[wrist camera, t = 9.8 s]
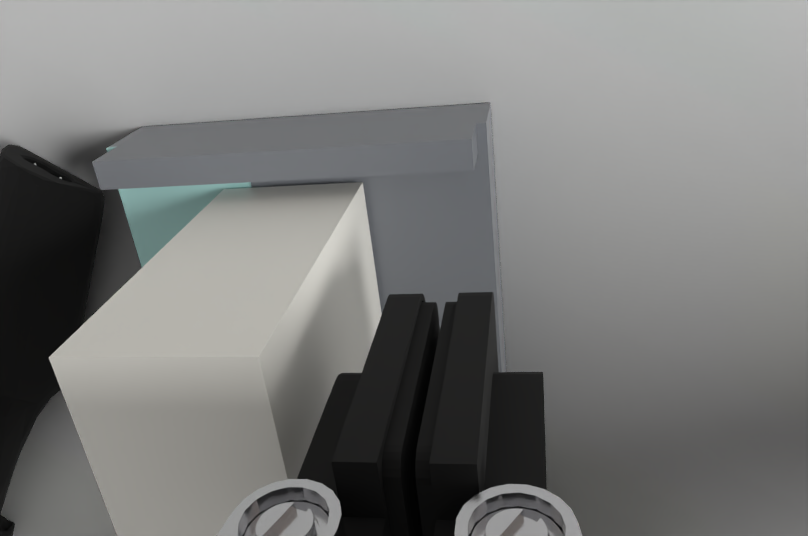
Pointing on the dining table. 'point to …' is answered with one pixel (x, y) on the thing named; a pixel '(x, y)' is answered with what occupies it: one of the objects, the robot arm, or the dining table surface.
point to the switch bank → (328, 164)
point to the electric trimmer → (38, 287)
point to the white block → (222, 355)
